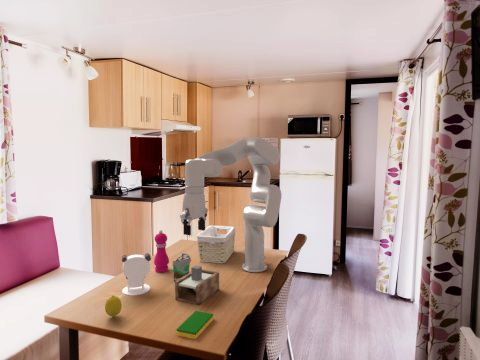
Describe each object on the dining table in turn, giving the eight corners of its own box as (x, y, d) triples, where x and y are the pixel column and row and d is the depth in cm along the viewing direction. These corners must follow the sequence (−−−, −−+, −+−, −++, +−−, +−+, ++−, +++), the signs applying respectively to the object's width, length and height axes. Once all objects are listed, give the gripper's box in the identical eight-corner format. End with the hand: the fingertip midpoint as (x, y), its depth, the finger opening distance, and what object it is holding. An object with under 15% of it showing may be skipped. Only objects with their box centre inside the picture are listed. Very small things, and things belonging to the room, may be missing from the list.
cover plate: (197, 273, 150) (197, 260, 150) (213, 276, 147) (213, 263, 146) (178, 285, 138) (178, 271, 137) (195, 289, 134) (195, 274, 134)
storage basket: (225, 265, 179) (225, 236, 177) (195, 262, 182) (195, 235, 181) (236, 251, 202) (236, 226, 200) (209, 249, 205) (209, 224, 204)
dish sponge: (213, 320, 123) (213, 313, 123) (195, 340, 110) (195, 333, 110) (195, 316, 126) (195, 310, 126) (176, 336, 113) (175, 329, 113)
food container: (185, 284, 154) (185, 262, 153) (172, 283, 155) (172, 261, 154) (195, 274, 166) (194, 253, 165) (182, 273, 167) (182, 252, 166)
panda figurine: (150, 282, 156) (149, 250, 154) (152, 293, 145) (151, 257, 143) (122, 286, 152) (120, 252, 150) (122, 297, 141) (120, 261, 140)
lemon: (108, 313, 127) (107, 292, 126) (123, 313, 128) (122, 292, 127) (103, 321, 122) (102, 299, 121) (119, 320, 122) (118, 298, 121)
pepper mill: (171, 268, 173) (171, 229, 171) (164, 273, 167) (163, 232, 164) (159, 266, 176) (158, 227, 174) (151, 271, 169) (150, 231, 167)
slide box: (197, 285, 153) (196, 268, 152) (219, 289, 148) (219, 272, 148) (175, 299, 139) (175, 281, 138) (199, 305, 134) (198, 286, 133)
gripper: (199, 187, 149) (199, 227, 151) (173, 191, 134) (173, 235, 135) (214, 189, 146) (214, 229, 147) (189, 193, 130) (189, 238, 132)
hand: (194, 232), depth 141 cm, fingers open, 9 cm apart
